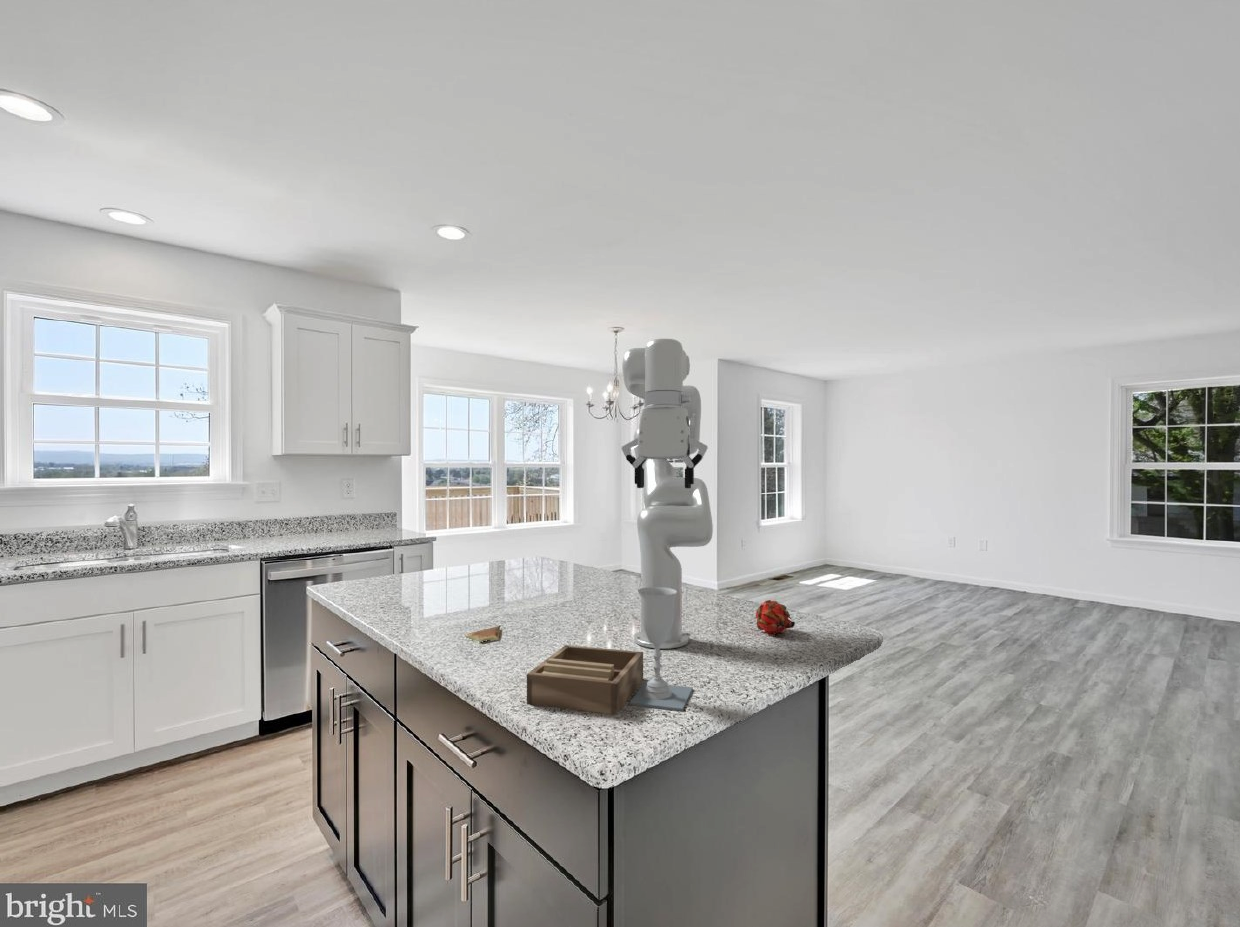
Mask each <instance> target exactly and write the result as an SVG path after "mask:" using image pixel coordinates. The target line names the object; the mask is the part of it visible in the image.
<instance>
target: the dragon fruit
mask: <svg viewBox="0 0 1240 927" xmlns="http://www.w3.org/2000/svg"><path fill="white" fill-rule="evenodd" d="M755 619H756V627H757V629H758V631H764V632H765V634H767V635H768V634H770V635H772V636H771V637H776V636H777V635H775V634H777V633H778V632H779V633H778V634H785V632H787V629H793V628H794V627H795V624H796V622H795V621H794V620H793V618H792V617H791V615H790V612H789V611H787V606H785V604H782V603H779V602H778V601H777V600H771V599H768V600H765V601H763V602H762V604H760V605H759V606H758V608H757V609H756V610H755ZM791 620H793V621H791ZM770 635H769V636H770Z"/></svg>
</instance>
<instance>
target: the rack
mask: <svg viewBox="0 0 1240 927" xmlns="http://www.w3.org/2000/svg"><path fill="white" fill-rule="evenodd" d="M549 658H552V659H563V660H573V661H583V662H593V663H604V664H614V680H613V681H608V680H599V679H589V678H580V677H570V676H561V675H552V674H542V672H543V671H544V665H545V664H546V663H547V660H548V659H549ZM643 680H644V651H634V650H623V649H621V650H620V649H613V648H602V647H600V648H599V647H591V646H590V647H589V646H578V645H570V644H569V645H567V644H565V645H564V646H562V647H561V648H560V649H558V650H557V651H555V652H554V653H553V654H551V655H550V656H549V657H548V658H546V659H544V660H543V661H542V662H541V663H539V664H538V665H537V666H536V667H534V668H533V669H532V670H530V671H529V672H527V673H526V704H527V705H536V706H543V707H550V708H560V709H567V710H575V711H576V710H577V711H582V712H583V711H584V712H591V713H600V714H608V715H615V716H616V715H618V714H619V712H620V711H621V709H622V708H623V707H624V705H625V704H626V702H627V701H628V700H629V699H630V697H631V696H632V694H633V693H634V692H635V690H636V689H637V688H638V686H639V685H640V684H641V683H642V681H643Z"/></svg>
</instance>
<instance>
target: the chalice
mask: <svg viewBox="0 0 1240 927" xmlns="http://www.w3.org/2000/svg"><path fill="white" fill-rule="evenodd" d="M637 593H638V595H639V596H640V622H641V621H642V625H643V628H644V631H645V633H646V635H647V637H648V639H649V642H651V643H652V644H654V647H655V648H654V650H653V653H652V656H653V658H654V662H653V664H652V665H651V666H652V667H653V670H654V675H653V676H652V678H649V680H647V685H646V687H645V690H644V692H643V695H644V696H645V697H647V698H651V699H665V698H668V697H670V696H671V695H672V693H671V692H670V690H669V686H668V685H669V684H668V681H667V680H666V679H664V678H663V677H662V676H661V669H662V668H663V665H662V664H661V657H662V653H661V649H660V644H663V643H665V641H666V639H667V637H668V635H669V632H670V630H671V627H672V624H673V621H674V597H675V595H676V593H677V591H676V590H674V589H670V588H663V587H647V588H641V587H640V588H639V589H638V590H637Z"/></svg>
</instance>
